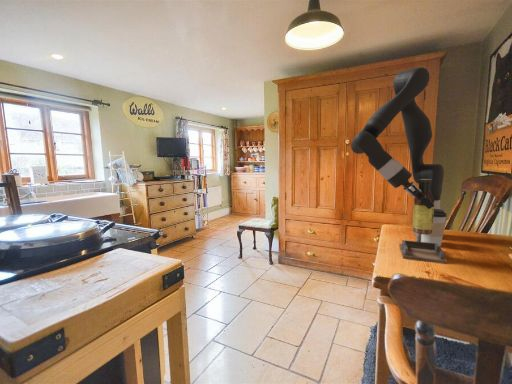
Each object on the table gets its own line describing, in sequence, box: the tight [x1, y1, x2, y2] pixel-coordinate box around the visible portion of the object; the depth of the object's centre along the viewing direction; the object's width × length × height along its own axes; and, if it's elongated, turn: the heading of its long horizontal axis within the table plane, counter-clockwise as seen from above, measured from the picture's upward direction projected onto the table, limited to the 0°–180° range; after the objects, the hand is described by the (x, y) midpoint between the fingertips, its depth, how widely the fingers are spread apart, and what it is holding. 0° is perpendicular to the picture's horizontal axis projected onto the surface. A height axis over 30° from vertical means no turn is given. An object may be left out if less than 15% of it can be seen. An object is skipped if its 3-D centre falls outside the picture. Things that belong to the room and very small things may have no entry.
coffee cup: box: [421, 208, 447, 247], centre depth 104 cm, size 9×9×15 cm
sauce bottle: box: [412, 179, 434, 234], centre depth 91 cm, size 7×6×20 cm
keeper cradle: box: [398, 233, 448, 265], centre depth 94 cm, size 14×13×8 cm
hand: (429, 205), depth 90 cm, fingers closed on sauce bottle, 6 cm apart
